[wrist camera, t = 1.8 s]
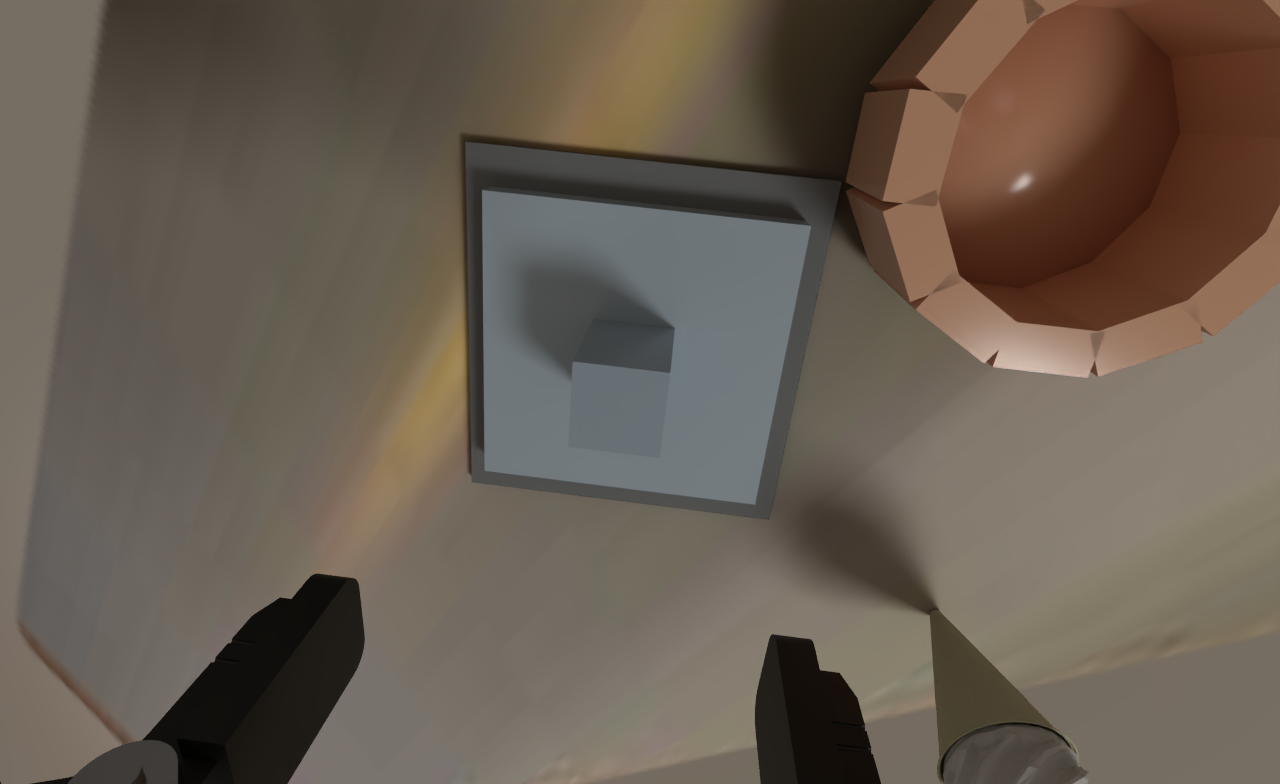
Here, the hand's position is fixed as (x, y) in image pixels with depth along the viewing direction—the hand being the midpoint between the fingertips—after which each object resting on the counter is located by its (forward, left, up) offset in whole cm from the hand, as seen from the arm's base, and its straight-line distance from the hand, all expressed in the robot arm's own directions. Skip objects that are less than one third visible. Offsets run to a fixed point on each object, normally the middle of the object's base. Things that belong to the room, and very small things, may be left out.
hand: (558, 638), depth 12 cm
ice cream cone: (+12, +16, -16) cm, 26 cm away
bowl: (-9, +13, -16) cm, 23 cm away
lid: (0, 0, -16) cm, 16 cm away
